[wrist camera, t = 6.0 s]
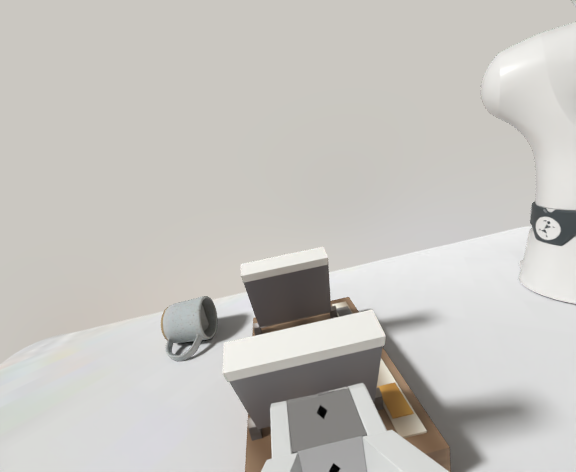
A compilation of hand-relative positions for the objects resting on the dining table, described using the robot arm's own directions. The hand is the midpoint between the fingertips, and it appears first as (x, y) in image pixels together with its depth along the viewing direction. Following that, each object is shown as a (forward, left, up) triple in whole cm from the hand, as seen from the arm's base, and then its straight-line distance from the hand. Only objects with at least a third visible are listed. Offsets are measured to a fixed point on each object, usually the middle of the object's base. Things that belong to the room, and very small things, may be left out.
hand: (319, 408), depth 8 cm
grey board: (0, -14, -15) cm, 20 cm away
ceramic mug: (+19, -38, -21) cm, 47 cm away
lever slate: (0, -30, -15) cm, 33 cm away
